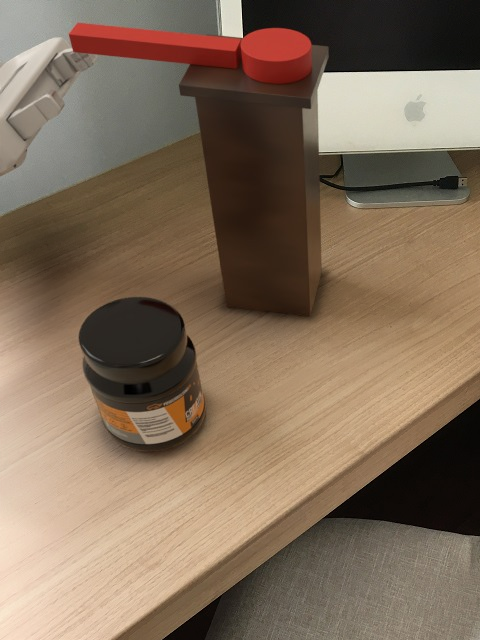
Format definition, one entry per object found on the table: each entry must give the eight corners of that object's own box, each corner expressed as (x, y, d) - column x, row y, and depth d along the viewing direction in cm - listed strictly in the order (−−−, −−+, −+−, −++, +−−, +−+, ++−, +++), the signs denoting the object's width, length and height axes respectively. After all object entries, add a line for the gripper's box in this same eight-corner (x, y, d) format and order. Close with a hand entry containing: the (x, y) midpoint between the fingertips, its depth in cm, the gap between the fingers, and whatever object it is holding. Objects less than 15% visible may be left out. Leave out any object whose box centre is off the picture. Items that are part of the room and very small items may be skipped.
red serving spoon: (65, 62, 72) (59, 39, 70) (88, 30, 75) (83, 8, 74) (305, 87, 71) (304, 64, 69) (317, 54, 74) (316, 31, 73)
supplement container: (167, 471, 77) (142, 386, 68) (82, 432, 80) (46, 344, 70) (227, 403, 83) (212, 315, 73) (146, 368, 85) (121, 278, 76)
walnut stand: (215, 311, 91) (178, 84, 70) (235, 258, 97) (206, 33, 76) (317, 323, 91) (310, 98, 70) (331, 268, 97) (328, 46, 75)
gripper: (-92, 160, 74) (6, 100, 68) (-5, 56, 86) (86, -3, 79) (-37, 215, 78) (60, 163, 72) (39, 109, 90) (128, 57, 84)
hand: (74, 75), depth 76 cm, fingers open, 8 cm apart
